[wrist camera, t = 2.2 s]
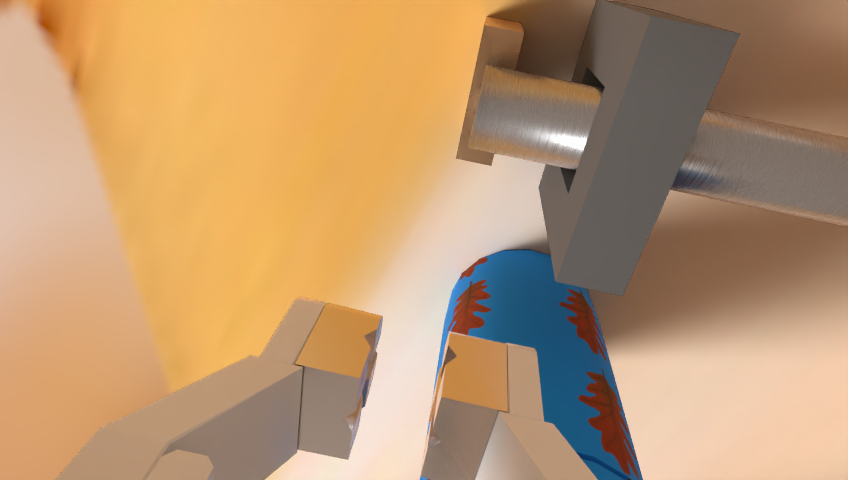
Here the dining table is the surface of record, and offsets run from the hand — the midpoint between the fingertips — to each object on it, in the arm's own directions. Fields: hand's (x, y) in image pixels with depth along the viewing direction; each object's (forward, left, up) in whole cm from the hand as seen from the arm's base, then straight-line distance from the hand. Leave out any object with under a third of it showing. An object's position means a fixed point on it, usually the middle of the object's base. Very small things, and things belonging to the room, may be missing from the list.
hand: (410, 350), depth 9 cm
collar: (0, -7, -24) cm, 25 cm away
